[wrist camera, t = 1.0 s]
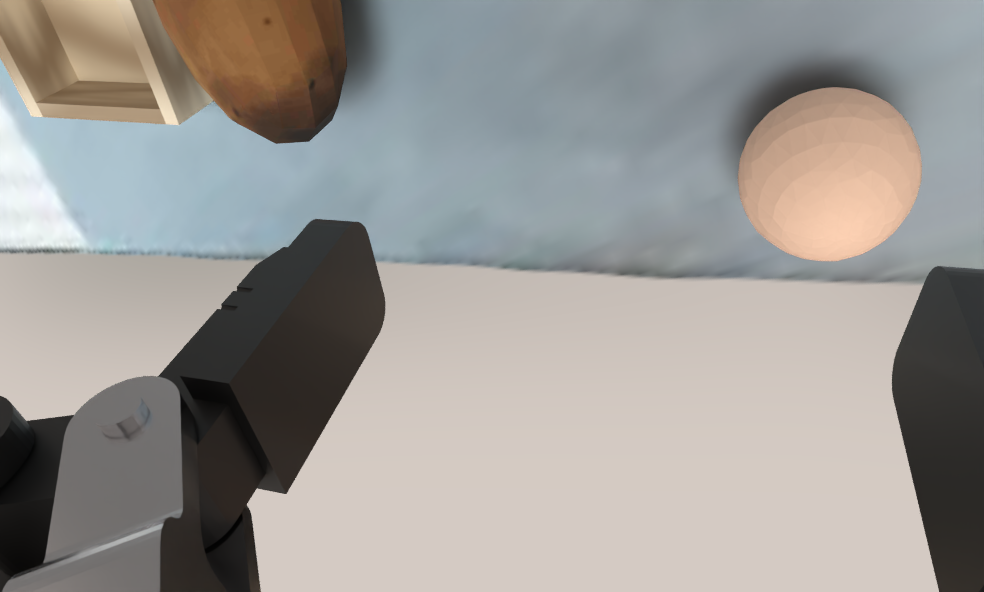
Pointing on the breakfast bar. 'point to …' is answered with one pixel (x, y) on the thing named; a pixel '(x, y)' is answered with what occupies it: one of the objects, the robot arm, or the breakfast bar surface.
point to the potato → (264, 60)
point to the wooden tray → (96, 61)
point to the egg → (830, 173)
